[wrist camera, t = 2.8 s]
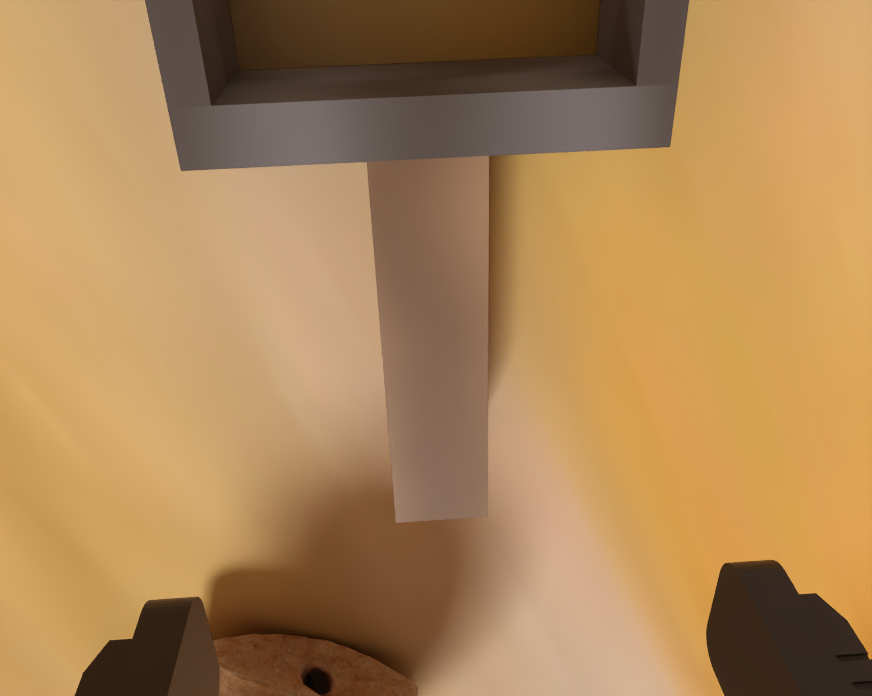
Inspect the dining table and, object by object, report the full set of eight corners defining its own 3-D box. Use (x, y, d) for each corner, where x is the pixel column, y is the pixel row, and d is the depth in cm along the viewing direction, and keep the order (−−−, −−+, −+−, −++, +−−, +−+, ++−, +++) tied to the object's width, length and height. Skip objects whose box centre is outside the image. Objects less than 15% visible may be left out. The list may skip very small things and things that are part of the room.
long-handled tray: (642, -68, 20) (696, -60, 16) (594, 433, 28) (623, 508, 25) (180, -50, 19) (137, -37, 16) (272, 453, 28) (257, 531, 25)
